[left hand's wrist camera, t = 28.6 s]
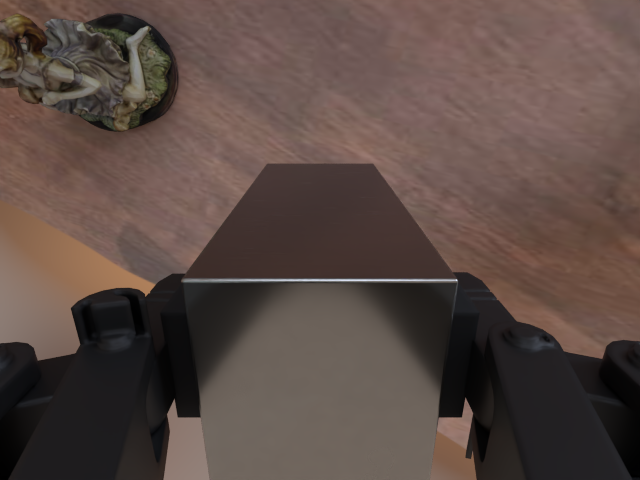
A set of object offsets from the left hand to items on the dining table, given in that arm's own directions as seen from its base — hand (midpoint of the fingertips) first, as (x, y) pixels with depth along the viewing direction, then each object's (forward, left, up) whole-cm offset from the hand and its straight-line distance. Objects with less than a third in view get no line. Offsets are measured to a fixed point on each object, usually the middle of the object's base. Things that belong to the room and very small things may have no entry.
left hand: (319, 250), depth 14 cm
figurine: (-21, -4, -28) cm, 35 cm away
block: (0, 0, -4) cm, 4 cm away
